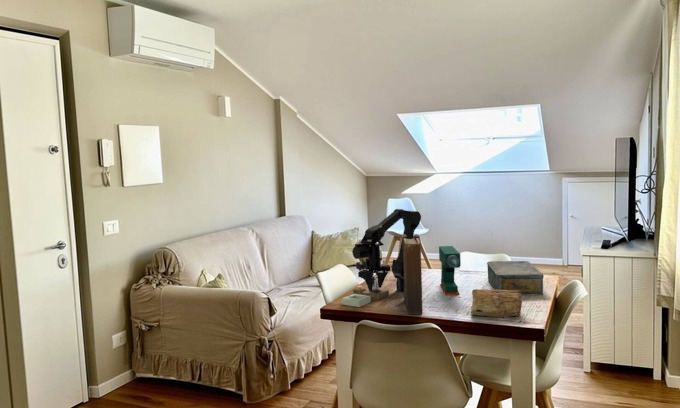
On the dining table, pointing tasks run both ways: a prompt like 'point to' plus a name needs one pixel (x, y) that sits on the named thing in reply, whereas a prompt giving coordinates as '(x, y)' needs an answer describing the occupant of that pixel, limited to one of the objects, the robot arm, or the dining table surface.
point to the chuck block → (377, 294)
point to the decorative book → (412, 274)
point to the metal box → (515, 276)
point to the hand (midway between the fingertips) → (375, 289)
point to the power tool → (449, 269)
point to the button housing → (358, 291)
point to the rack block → (356, 300)
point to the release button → (359, 288)
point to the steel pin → (375, 285)
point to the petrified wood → (496, 303)
